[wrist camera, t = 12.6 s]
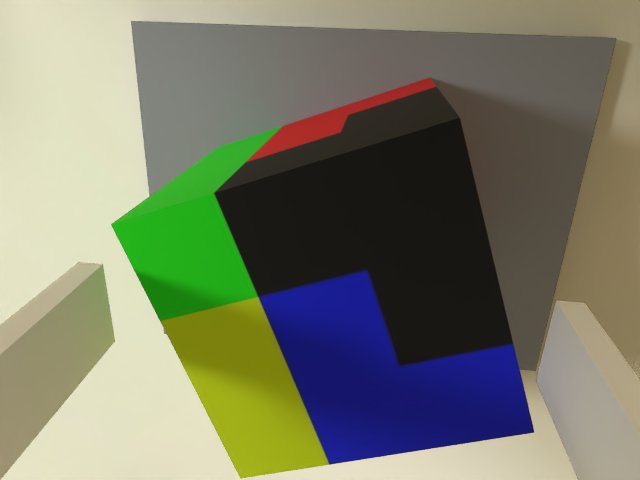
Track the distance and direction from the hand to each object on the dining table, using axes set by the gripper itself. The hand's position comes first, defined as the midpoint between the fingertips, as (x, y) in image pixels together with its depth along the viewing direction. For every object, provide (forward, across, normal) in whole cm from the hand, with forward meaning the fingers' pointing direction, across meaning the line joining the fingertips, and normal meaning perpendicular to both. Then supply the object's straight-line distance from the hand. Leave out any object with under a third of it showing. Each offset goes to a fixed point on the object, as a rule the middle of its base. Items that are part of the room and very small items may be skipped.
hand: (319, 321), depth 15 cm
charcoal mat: (+11, 0, 0) cm, 11 cm away
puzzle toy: (+10, 0, 0) cm, 10 cm away
